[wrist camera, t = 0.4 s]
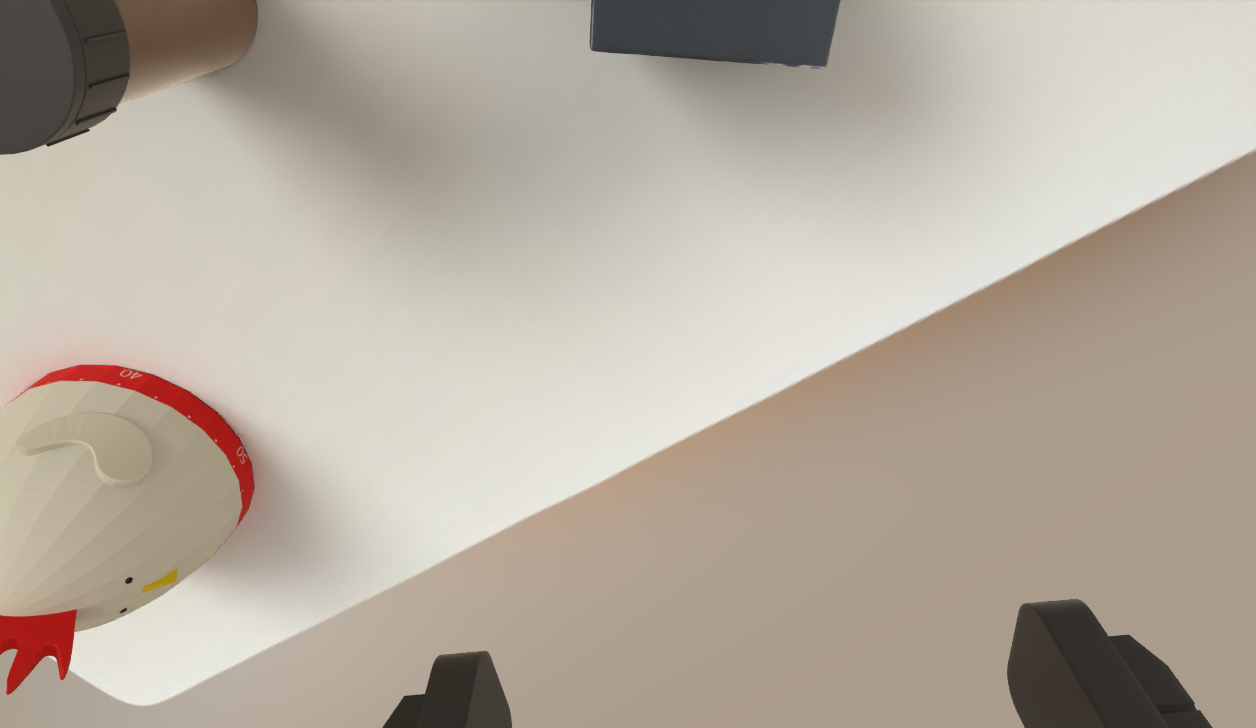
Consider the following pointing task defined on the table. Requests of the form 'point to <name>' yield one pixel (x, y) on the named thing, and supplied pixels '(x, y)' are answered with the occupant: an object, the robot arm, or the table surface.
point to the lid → (59, 69)
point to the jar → (183, 39)
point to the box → (718, 30)
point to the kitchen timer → (106, 503)
